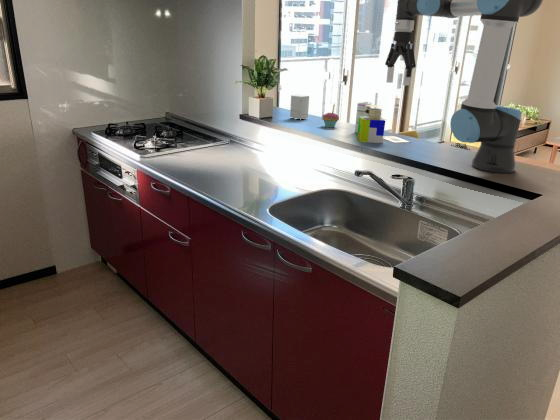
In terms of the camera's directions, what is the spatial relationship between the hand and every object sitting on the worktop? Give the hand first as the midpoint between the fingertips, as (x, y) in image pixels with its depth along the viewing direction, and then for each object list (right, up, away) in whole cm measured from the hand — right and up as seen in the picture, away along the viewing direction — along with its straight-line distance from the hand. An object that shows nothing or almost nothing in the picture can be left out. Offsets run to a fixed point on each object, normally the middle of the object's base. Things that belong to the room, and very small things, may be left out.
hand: (397, 84), depth 208 cm
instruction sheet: (+3, -21, +17) cm, 28 cm away
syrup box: (-11, -16, +30) cm, 36 cm away
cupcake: (-25, -12, +39) cm, 48 cm away
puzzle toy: (-10, -23, +13) cm, 28 cm away
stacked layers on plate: (-9, -13, +9) cm, 19 cm away
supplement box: (-40, -4, +57) cm, 70 cm away
